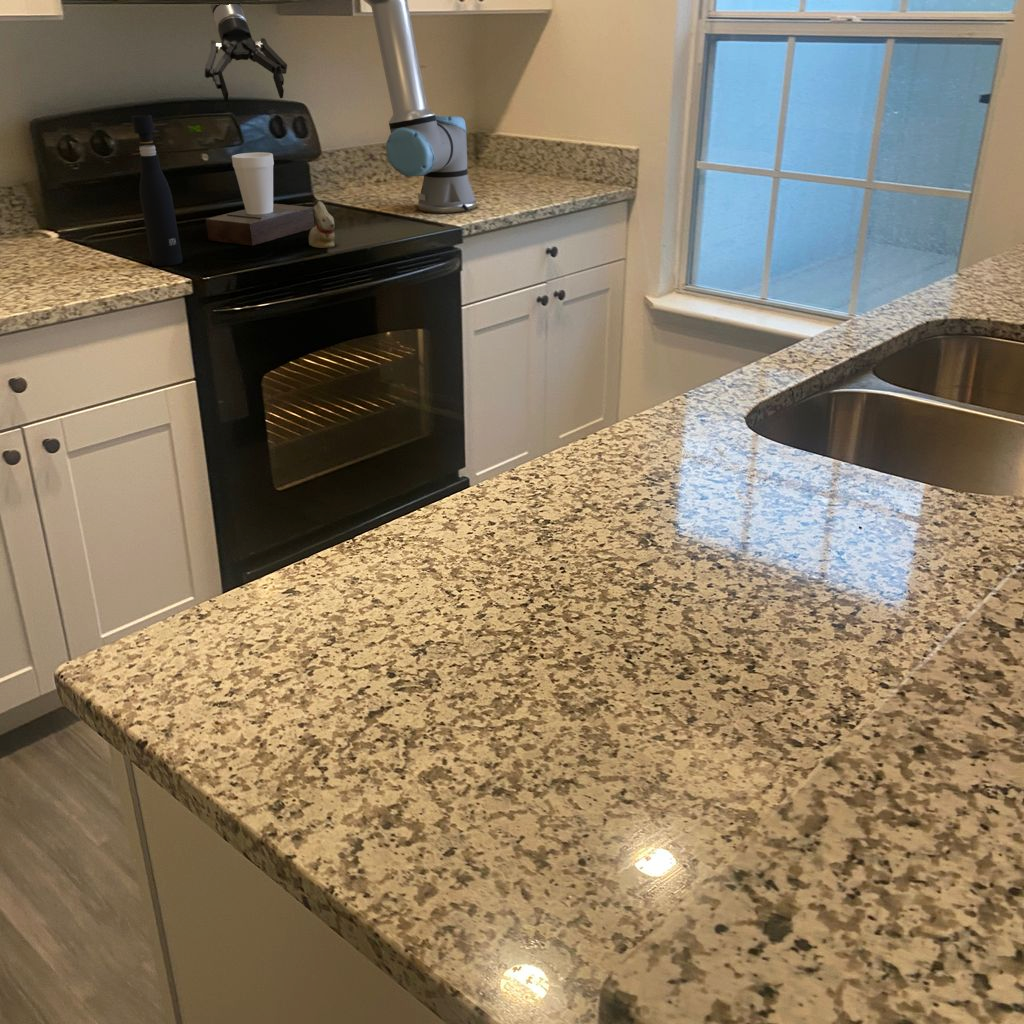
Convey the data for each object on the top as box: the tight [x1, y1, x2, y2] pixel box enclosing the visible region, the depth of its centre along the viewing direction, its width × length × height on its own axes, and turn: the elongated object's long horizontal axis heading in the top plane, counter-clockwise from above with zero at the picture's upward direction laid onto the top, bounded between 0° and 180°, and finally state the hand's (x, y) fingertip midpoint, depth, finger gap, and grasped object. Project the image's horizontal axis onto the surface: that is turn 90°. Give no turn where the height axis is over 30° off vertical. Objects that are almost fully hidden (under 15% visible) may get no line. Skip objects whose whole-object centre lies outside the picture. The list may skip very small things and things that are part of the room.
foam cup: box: [231, 151, 275, 214], centre depth 243 cm, size 10×9×13 cm
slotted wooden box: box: [205, 203, 316, 247], centre depth 247 cm, size 14×22×5 cm, turn 149°
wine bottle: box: [131, 114, 184, 267], centre depth 216 cm, size 6×6×30 cm
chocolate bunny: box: [308, 200, 336, 249], centre depth 233 cm, size 6×8×10 cm
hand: (254, 96), depth 251 cm, fingers open, 13 cm apart
